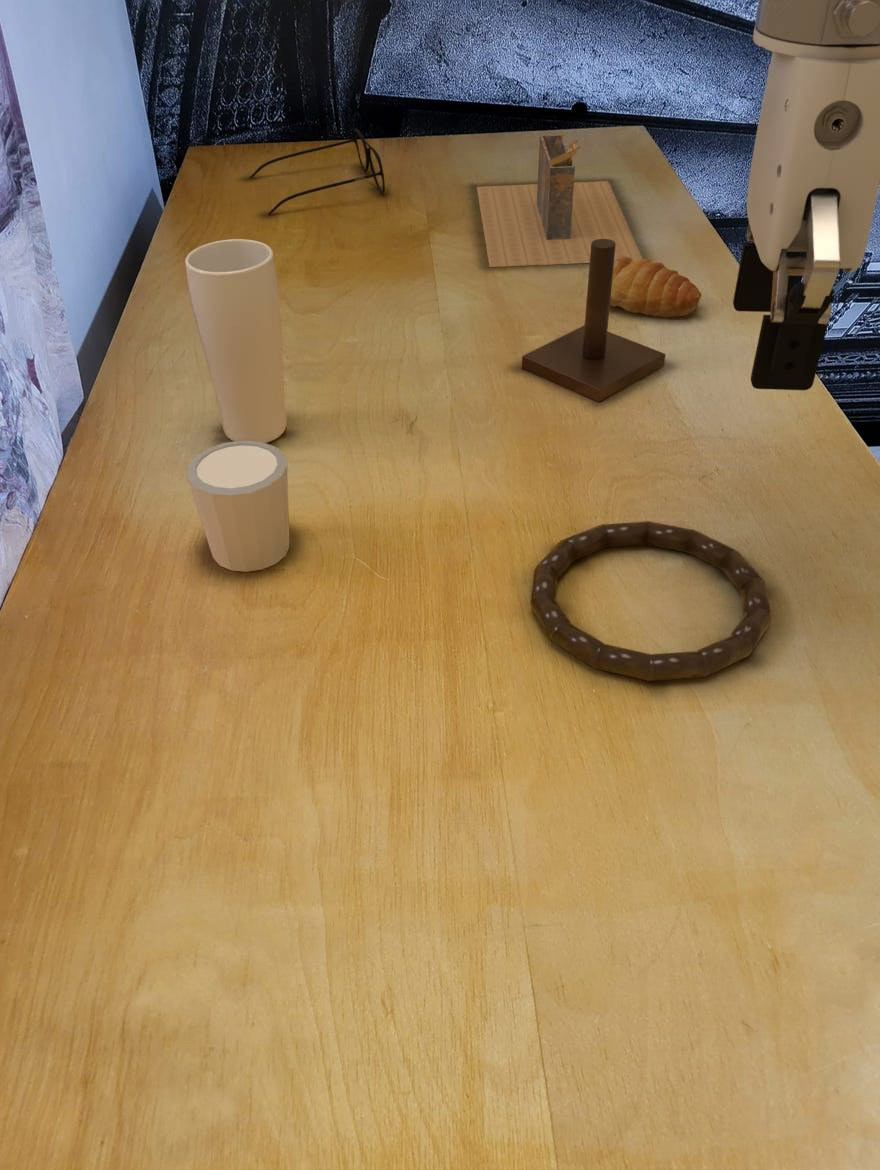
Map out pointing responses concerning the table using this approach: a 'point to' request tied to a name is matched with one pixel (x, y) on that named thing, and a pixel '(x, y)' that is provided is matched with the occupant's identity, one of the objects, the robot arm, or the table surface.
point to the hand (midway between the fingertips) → (769, 346)
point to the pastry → (651, 289)
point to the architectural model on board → (552, 215)
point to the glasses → (368, 160)
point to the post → (595, 342)
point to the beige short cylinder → (242, 503)
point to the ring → (640, 662)
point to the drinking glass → (240, 334)
